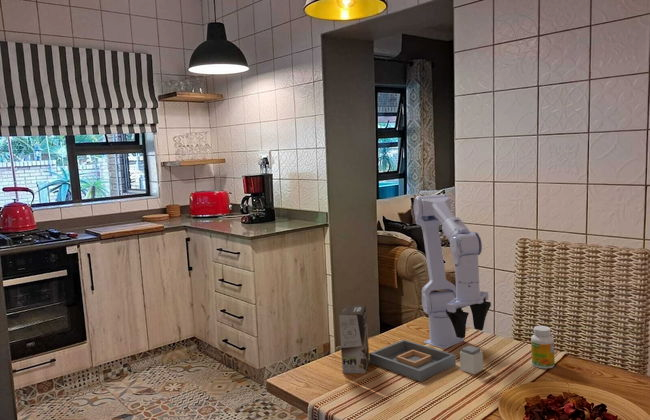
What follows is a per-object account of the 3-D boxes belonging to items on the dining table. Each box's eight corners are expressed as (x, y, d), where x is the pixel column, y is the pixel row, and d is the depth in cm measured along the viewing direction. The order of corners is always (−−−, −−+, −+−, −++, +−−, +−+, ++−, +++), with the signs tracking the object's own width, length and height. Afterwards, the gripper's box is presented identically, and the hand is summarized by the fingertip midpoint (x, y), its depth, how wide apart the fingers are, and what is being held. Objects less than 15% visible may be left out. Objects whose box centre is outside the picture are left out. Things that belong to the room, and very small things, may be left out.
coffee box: (366, 374, 132) (362, 314, 131) (342, 374, 134) (337, 314, 132) (370, 361, 141) (366, 304, 140) (347, 360, 143) (343, 304, 141)
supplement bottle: (528, 366, 131) (527, 329, 130) (536, 359, 134) (535, 323, 134) (550, 370, 127) (549, 333, 126) (557, 363, 131) (556, 326, 130)
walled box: (404, 349, 148) (404, 339, 148) (455, 365, 134) (455, 354, 134) (369, 363, 139) (369, 353, 139) (420, 383, 125) (419, 371, 125)
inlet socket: (412, 353, 143) (412, 349, 143) (431, 359, 138) (431, 355, 138) (396, 360, 139) (396, 356, 139) (415, 367, 134) (414, 362, 134)
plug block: (469, 366, 133) (468, 344, 132) (483, 371, 130) (482, 348, 129) (460, 371, 130) (459, 348, 130) (473, 376, 127) (472, 352, 127)
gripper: (462, 289, 120) (465, 344, 121) (497, 277, 129) (500, 329, 130) (439, 284, 126) (441, 338, 127) (474, 273, 135) (476, 323, 136)
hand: (469, 333), depth 129 cm, fingers open, 7 cm apart
